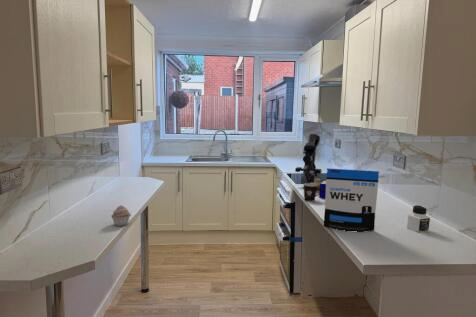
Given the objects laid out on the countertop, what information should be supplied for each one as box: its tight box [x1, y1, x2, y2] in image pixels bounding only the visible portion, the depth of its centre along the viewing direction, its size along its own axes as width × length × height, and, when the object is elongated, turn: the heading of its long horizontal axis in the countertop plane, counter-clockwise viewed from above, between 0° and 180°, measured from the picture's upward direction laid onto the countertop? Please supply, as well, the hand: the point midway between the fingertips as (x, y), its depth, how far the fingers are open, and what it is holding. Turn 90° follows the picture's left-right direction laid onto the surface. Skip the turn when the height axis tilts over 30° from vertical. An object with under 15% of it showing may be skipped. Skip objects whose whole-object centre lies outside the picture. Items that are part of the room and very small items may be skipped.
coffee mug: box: [303, 182, 323, 202], centre depth 223 cm, size 12×9×10 cm
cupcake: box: [110, 204, 132, 227], centre depth 172 cm, size 9×9×10 cm
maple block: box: [314, 177, 322, 185], centre depth 256 cm, size 4×4×4 cm
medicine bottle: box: [406, 204, 431, 233], centre depth 173 cm, size 7×7×12 cm
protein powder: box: [323, 167, 380, 233], centre depth 171 cm, size 10×24×30 cm, turn 77°
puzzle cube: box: [318, 180, 326, 200], centre depth 232 cm, size 10×10×10 cm
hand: (307, 181), depth 259 cm, fingers closed
